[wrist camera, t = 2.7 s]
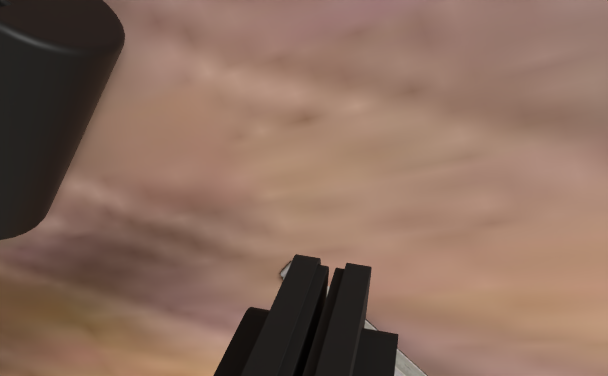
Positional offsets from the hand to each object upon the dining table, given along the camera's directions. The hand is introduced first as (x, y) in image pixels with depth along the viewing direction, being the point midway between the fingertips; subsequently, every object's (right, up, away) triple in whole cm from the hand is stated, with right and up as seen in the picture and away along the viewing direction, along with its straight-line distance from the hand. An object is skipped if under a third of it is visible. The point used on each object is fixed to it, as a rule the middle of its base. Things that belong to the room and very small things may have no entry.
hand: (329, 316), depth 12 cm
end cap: (-12, +8, +13) cm, 20 cm away
